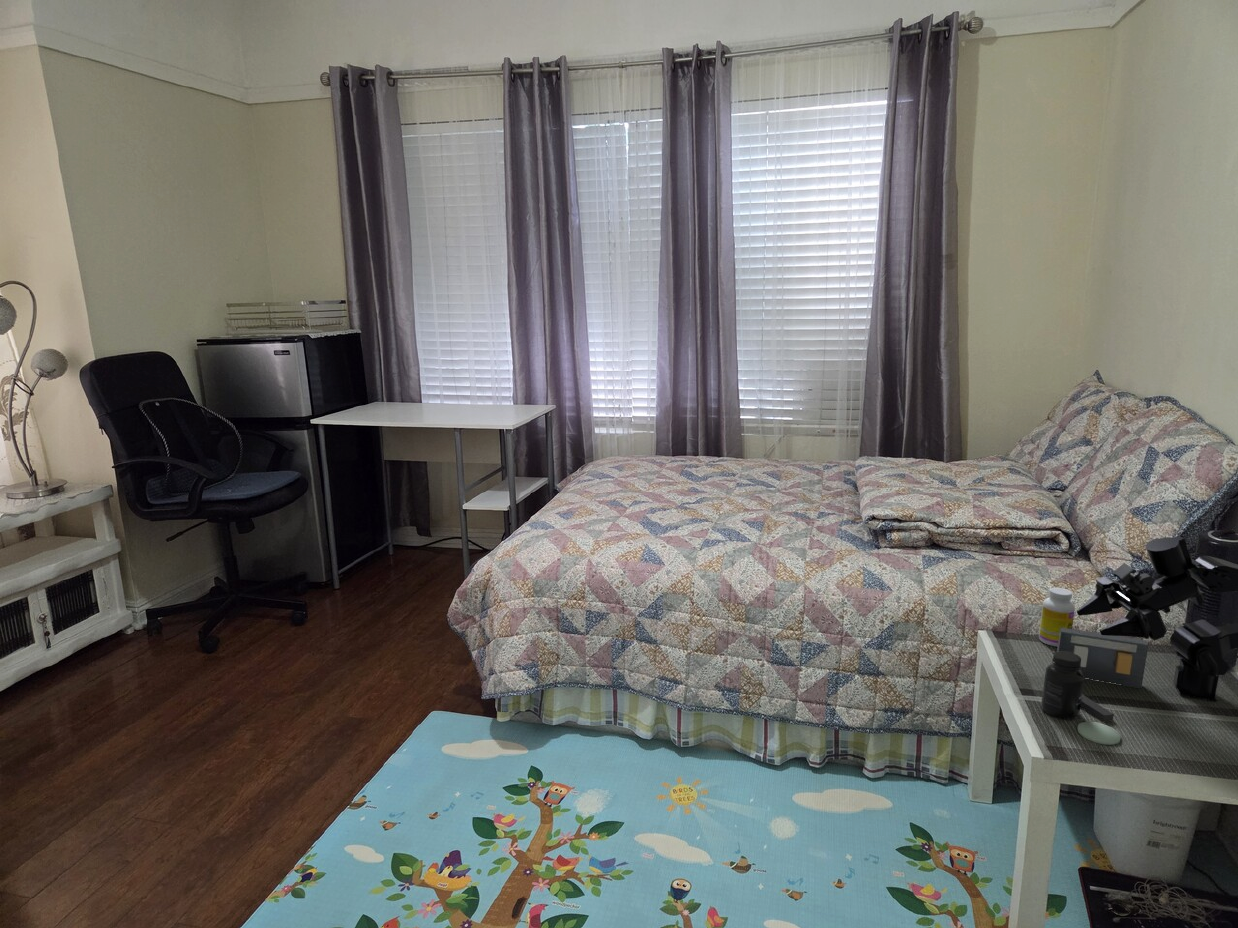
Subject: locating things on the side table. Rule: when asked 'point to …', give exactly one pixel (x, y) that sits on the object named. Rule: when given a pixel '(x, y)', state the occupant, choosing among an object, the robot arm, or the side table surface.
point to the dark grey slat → (1096, 709)
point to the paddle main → (1123, 663)
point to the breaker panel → (1106, 655)
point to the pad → (1099, 733)
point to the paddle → (1081, 654)
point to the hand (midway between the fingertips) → (1088, 622)
